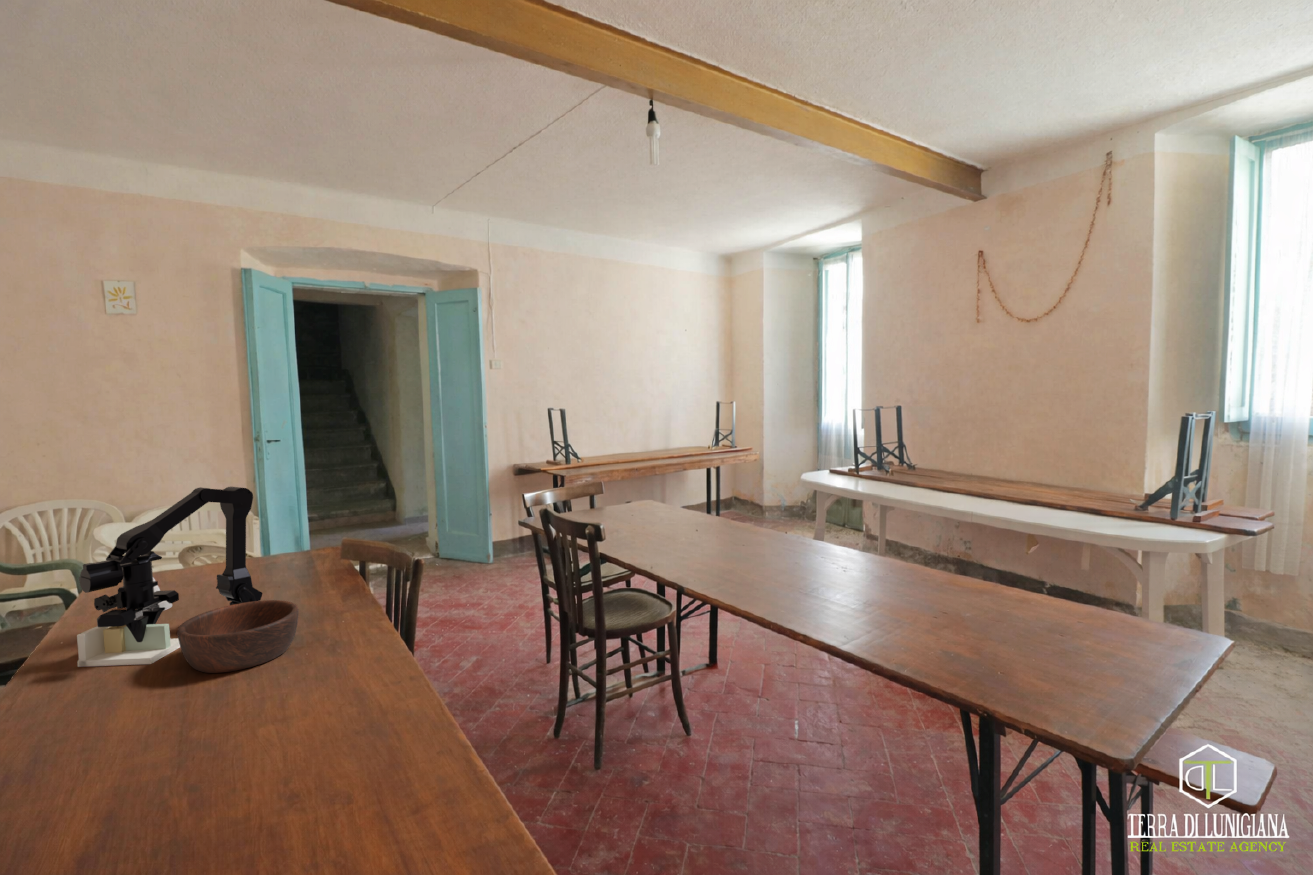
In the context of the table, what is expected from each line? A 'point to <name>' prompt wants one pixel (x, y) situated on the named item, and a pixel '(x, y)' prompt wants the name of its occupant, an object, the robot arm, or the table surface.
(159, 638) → the square socket tool
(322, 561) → the table surface
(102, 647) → the l-shaped pin bracket
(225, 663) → the wooden bowl
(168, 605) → the wall hook
